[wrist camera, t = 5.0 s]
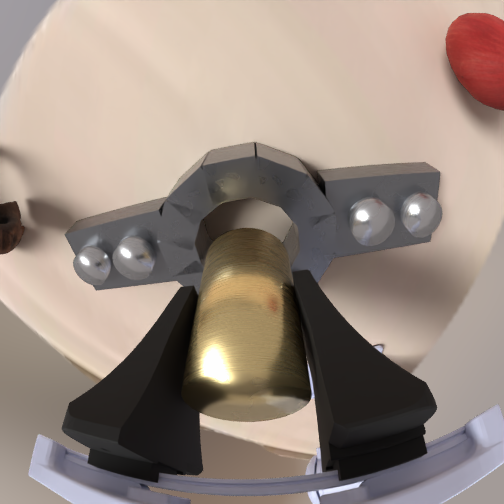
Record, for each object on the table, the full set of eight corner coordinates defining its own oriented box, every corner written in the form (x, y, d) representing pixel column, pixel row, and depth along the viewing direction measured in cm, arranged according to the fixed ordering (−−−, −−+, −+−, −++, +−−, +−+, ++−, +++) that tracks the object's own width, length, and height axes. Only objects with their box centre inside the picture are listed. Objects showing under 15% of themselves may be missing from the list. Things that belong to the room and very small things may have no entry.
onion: (465, 16, 8) (552, 19, 1) (489, 91, 10) (573, 123, 4) (406, 20, 9) (502, 6, 2) (437, 105, 12) (533, 141, 5)
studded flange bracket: (413, 252, 18) (431, 277, 16) (116, 295, 21) (104, 322, 18) (426, 129, 13) (454, 142, 11) (65, 194, 15) (41, 214, 13)
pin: (289, 291, 14) (306, 417, 9) (214, 296, 14) (199, 421, 9) (287, 224, 12) (317, 364, 6) (198, 232, 12) (162, 370, 6)
